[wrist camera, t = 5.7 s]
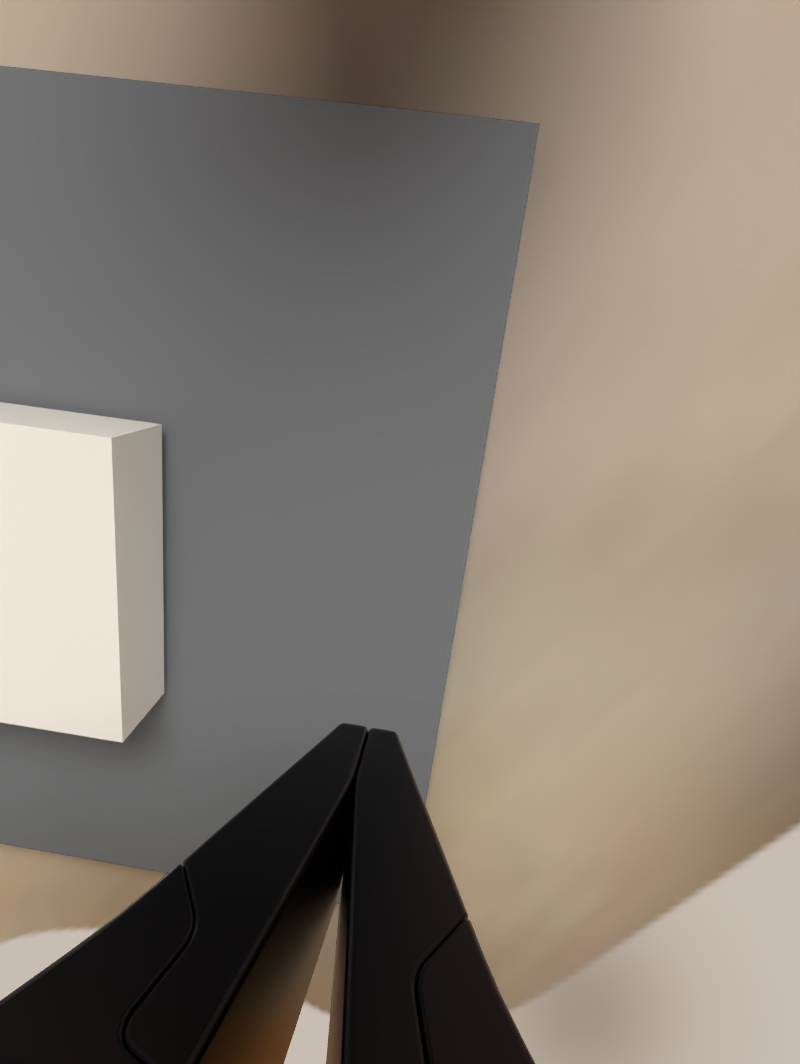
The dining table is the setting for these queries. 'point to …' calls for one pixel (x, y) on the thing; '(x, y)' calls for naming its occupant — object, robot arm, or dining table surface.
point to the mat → (259, 416)
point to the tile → (80, 571)
